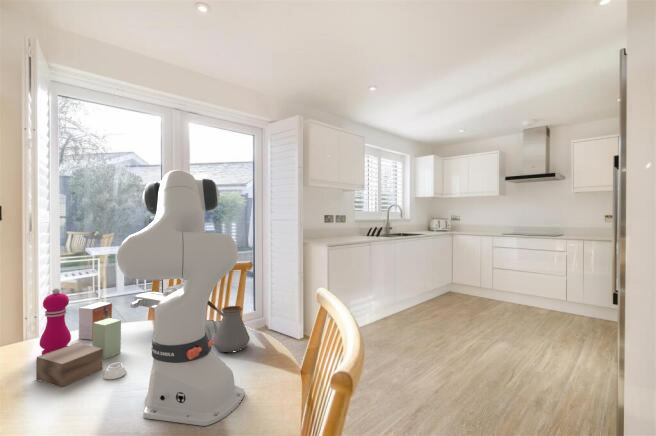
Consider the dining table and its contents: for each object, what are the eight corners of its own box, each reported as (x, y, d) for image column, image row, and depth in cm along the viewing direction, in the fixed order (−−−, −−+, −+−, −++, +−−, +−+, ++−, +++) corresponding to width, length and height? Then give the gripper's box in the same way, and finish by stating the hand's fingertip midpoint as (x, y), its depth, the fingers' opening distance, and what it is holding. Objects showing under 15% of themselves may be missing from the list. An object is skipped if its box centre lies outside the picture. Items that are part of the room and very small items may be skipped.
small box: (91, 340, 109) (92, 309, 109) (78, 338, 110) (78, 307, 110) (112, 332, 117) (112, 302, 117) (99, 330, 118) (99, 301, 118)
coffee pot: (257, 346, 108) (257, 300, 107) (230, 359, 98) (231, 309, 97) (212, 333, 118) (212, 291, 118) (184, 343, 108) (184, 298, 108)
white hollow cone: (130, 372, 89) (114, 370, 90) (130, 361, 89) (114, 359, 90) (115, 381, 84) (98, 379, 85) (116, 370, 84) (98, 368, 85)
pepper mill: (32, 358, 95) (33, 290, 95) (58, 348, 102) (59, 284, 102) (52, 361, 93) (52, 291, 93) (76, 351, 100) (77, 286, 100)
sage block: (120, 352, 101) (121, 320, 100) (104, 359, 96) (104, 325, 96) (109, 349, 102) (109, 317, 102) (92, 356, 98) (93, 322, 97)
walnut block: (102, 370, 90) (102, 348, 90) (62, 388, 80) (62, 364, 80) (77, 363, 93) (78, 342, 93) (36, 380, 84) (36, 356, 84)
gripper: (153, 286, 127) (120, 294, 114) (195, 292, 120) (165, 302, 107) (153, 302, 127) (120, 312, 114) (195, 309, 120) (165, 321, 107)
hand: (142, 307), depth 111 cm, fingers open, 8 cm apart
